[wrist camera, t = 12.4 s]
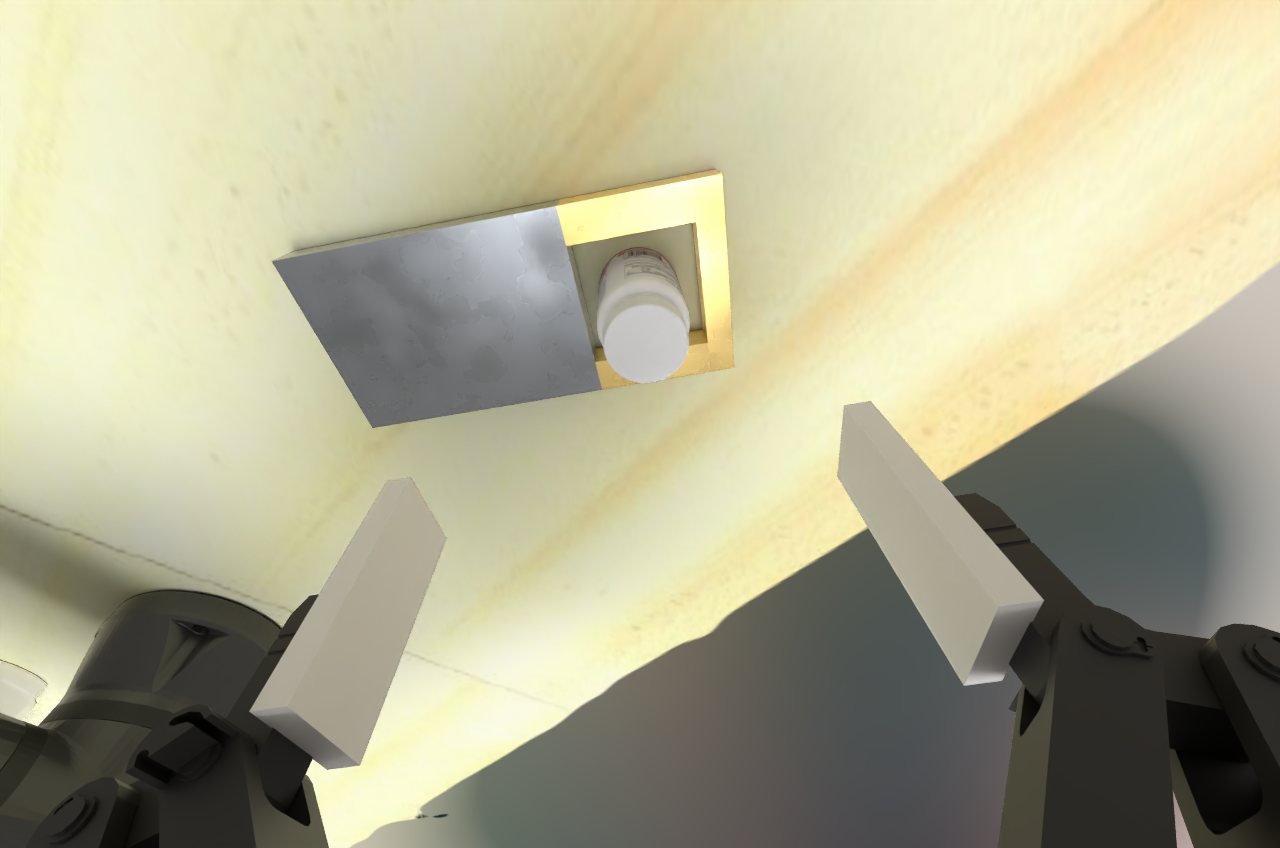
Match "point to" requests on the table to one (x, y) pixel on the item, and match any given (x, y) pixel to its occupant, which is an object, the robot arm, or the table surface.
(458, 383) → the flat tray
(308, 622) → the robot arm
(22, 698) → the jar
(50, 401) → the table surface
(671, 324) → the pill bottle
